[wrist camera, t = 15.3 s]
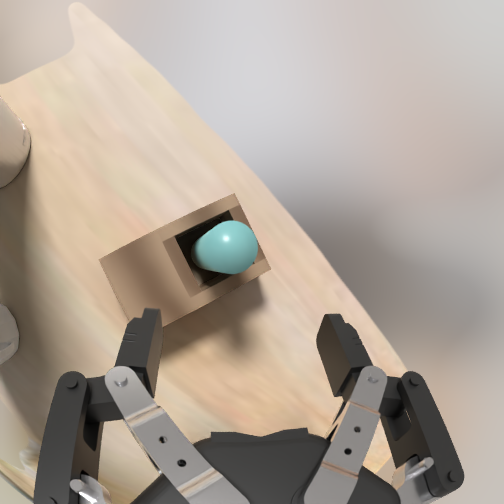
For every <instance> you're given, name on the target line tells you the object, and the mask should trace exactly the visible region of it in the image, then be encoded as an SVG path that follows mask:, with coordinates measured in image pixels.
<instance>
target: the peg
mask: <svg viewBox="0 0 504 504" xmlns="http://www.w3.org/2000/svg"><path fill="white" fill-rule="evenodd" d="M257 252H258V243H257V239H256V237H255V235H254V233H253V231H252V230H251V229H250V228H249V227H248V226H247V225H245V224H243V223H241V222H238V221H225V222H222V223H220V224H218V225H217V226H215V227H214V228H213V229H211V230H210V231H208V232H207V233H206V234H204V235H203V236H202V237H200V238H199V239H198V240H196V241H195V243H194V244H193V246H192V249H191V257H192V260H193V262H194V263H195V264H196V265H197V266H198V267H199V268H202V269H205V270H210V271H216V272H221V273H227V274H237V273H241V272H243V271H245V270H247V269H248V268H249V267H250V266H251V265H252V264H253V262H254V261H255V259H256V256H257Z"/></svg>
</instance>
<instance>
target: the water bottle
mask: <svg viewBox="0 0 504 504" xmlns="http://www.w3.org/2000/svg"><path fill="white" fill-rule="evenodd" d="M18 343H19V332H18V328H17V325H16V321H15V318H14V317H13V316H12V314H11V313H10V311H9V310H8V308H7V307H6V306H4V305H2V304H1V303H0V365H1V364H2V363H4V362H5V361H7V360H8V359H10V358H11V357H12V356H13V355H14V353H15V352H16V351H17V349H18Z"/></svg>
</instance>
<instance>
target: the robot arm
mask: <svg viewBox="0 0 504 504" xmlns="http://www.w3.org/2000/svg"><path fill="white" fill-rule="evenodd" d="M30 142H31V141H30V133H29V130H28V128H27V127H26V125H25V124H24V123H23V122H22V120H21V119H20V118H19V117H18V116H17V115H16V114H15V113H14V111H13V110H12V109H11V108H10V107H9V106H8V105H7V103H6V102H5V101H4V100H3V99H2V97H1V96H0V188H1V187H4V186H6V185H7V184H8V183H10V182H11V181H12V180H13V179H14V178H15V177H16V176H17V175H18V173H19V172H20V171H21V169H22V167H23V166H24V164H25V162H26V159H27V157H28V153H29V150H30ZM316 344H317V348H318V351H319V354H320V357H321V360H322V363H323V365H324V368H325V371H326V374H327V377H328V380H329V383H330V386H331V389H332V392H333V395H334V397H339V396H342V397H343V401H342V403H341V405H340V407H339V409H338V411H337V414H336V416H335V418H334V420H333V422H332V424H331V426H330V428H329V430H328V431H327V433H326V435H325V436H324V438H323V437H321V436H318V435H314V434H308V430H307V428H299V429H289V430H283V431H279V432H276V433H273V434H270V435H266V436H262V437H259V436H253V435H247V434H242V433H237V432H211V438H207V439H203V440H200V441H198V442H196V443H194V444H191V443H190V442H189V440H188V439H187V438H186V437H185V436H184V434H183V433H182V432H181V431H180V430H179V428H178V427H177V426H176V425H175V423H174V422H173V421H172V419H171V418H170V417H169V416H168V414H167V413H166V412H165V410H164V409H163V408H162V407H161V406H158V405H157V404H156V403H155V401H154V400H153V399H152V398H154V396H155V389H156V382H157V375H158V369H159V363H160V357H161V351H162V345H163V327H162V318H161V310H160V309H158V308H144V311H143V314H142V318H136V317H134V318H133V319H132V320H131V321H130V322H129V323H128V324H127V327H126V330H125V334H124V337H123V341H122V343H121V346H120V350H119V353H118V356H117V360H116V363H115V366H114V368H112V369H110V370H109V371H108V372H107V374H106V375H104V376H101V377H95V378H85V377H84V375H82V374H81V373H79V372H76V371H71V372H67V373H65V374H63V375H62V376H61V377H60V379H59V381H58V384H57V387H56V390H55V394H54V397H53V401H52V404H51V408H50V412H49V416H48V420H47V424H46V428H45V432H44V437H43V441H42V446H41V451H40V457H39V462H38V468H37V475H36V482H35V490H34V504H112V500H111V495H110V493H109V491H108V490H107V489H106V488H105V487H104V486H103V485H102V484H100V483H99V482H98V469H99V458H100V448H101V440H102V432H103V425H104V422H105V421H113V420H121V419H123V421H124V422H125V424H126V426H127V427H128V429H129V430H130V432H131V433H132V435H133V437H134V438H135V440H136V441H137V443H138V444H139V446H140V447H141V449H142V450H143V452H144V453H145V455H146V456H147V458H148V459H149V461H150V462H151V463H152V465H153V466H154V467H155V469H156V470H157V471H158V473H159V474H160V476H159V477H158V478H157V479H156V480H155V481H154V482H153V483H152V484H151V485H150V486H149V487H147V488H146V489H145V490H144V491H143V492H142V493H141V494H140V495H139V496H138V497H137V498H136V499H135V500H134V501H133V502H131V503H130V504H429V503H431V502H433V501H436V500H438V499H439V498H442V497H443V496H445V495H447V494H449V493H451V492H453V491H455V490H456V489H458V488H459V487H460V486H461V485H462V483H463V481H464V472H463V469H462V466H461V463H460V461H459V458H458V455H457V453H456V451H455V448H454V445H453V443H452V440H451V438H450V436H449V433H448V431H447V428H446V426H445V424H444V421H443V419H442V417H441V415H440V412H439V410H438V408H437V406H436V404H435V401H434V399H433V397H432V395H431V393H430V391H429V389H428V387H427V385H426V383H425V380H424V379H423V378H422V376H421V375H419V374H418V373H416V372H413V371H409V372H406V373H404V374H403V376H402V377H401V378H398V377H390V376H386V374H385V372H384V371H383V370H382V369H380V368H378V367H376V366H373V364H372V362H371V360H370V358H369V355H368V353H367V351H366V349H365V347H364V345H362V341H361V339H359V335H358V333H357V331H356V330H355V329H354V328H353V327H352V326H351V325H350V324H349V323H345V322H344V320H343V318H342V316H341V314H325V315H324V317H323V320H322V323H321V326H320V329H319V331H318V334H317V339H316ZM406 411H407V412H406ZM407 413H408V415H407ZM408 416H409V417H408ZM379 418H380V419H381V422H382V425H383V428H384V431H385V434H386V437H387V441H388V444H389V447H390V450H391V453H392V457H393V460H394V463H395V467H396V470H395V472H394V474H393V480H392V483H391V485H390V484H389V483H387V482H385V481H384V480H383V479H381V478H380V477H378V476H377V475H375V474H374V473H373V472H371V471H370V470H368V469H367V468H365V467H364V466H363V465H362V464H363V461H364V459H365V456H366V454H367V451H368V449H369V446H370V444H371V441H372V438H373V436H374V433H375V430H376V427H377V424H378V421H379ZM409 419H410V420H409ZM410 421H411V422H410Z"/></svg>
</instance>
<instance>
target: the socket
mask: <svg viewBox="0 0 504 504" xmlns="http://www.w3.org/2000/svg"><path fill="white" fill-rule="evenodd" d="M218 218H220V221H221V223H222V222H225V221H238V222H241V223H243V224H245V225H247V226H248V227H249V228H250V229H251V230H252V228H251V226H250V224H249V222H248V220H247V218H246V216H245V214H244V212H243V210H242V208H241V205H240V203H239V201H238V199H237V197H236V195H235V193H234V194H231V195H229V196H227V197H225V198H222V199H220V200H218V201H216V202H214V203H211V204H209V205H207V206H205V207H203V208H200V209H198V210H196V211H194V212H192V213H190V214H188V215H186V216H183V217H181V218H179V219H177V220H175V221H173V222H171V223H169V224H167V225H165V226H163V227H161V228H159V229H157V230H155V231H153V232H151V233H149V234H147V235H145V236H143V237H141V238H139V239H137V240H135V241H133V242H131V243H129V244H127V245H125V246H123V247H121V248H119V249H118V250H116V251H114V252H112V253H110V254H108V255H106V256H104V257H103V258H101V259H99V261H100V263H101V266H102V268H103V270H104V272H105V274H106V276H107V278H108V280H109V283H110V285H111V287H112V289H113V291H114V293H115V295H116V297H117V299H118V300H119V302H120V304H121V306H122V308H123V310H124V312H125V314H126V316H127V317H128V319H129V321H131V320H132V319H133V318H134V317H136V318H142V314H143V311H144V308H158V309H160V310H161V318H162V327H164V326H166V325H168V324H170V323H172V322H174V321H176V320H177V319H179V318H181V317H183V316H185V315H187V314H189V313H191V312H193V311H195V310H196V309H198V308H200V307H202V306H204V305H206V304H208V303H210V302H212V301H213V300H215V299H217V298H219V297H221V296H223V295H225V294H227V293H228V292H230V291H232V290H234V289H236V288H238V287H240V286H241V285H243V284H245V283H247V282H249V281H251V280H252V279H254V278H256V277H258V276H260V275H262V274H263V273H265V272H267V271H269V270H271V268H270V266H269V264H268V261H267V259H266V257H265V255H264V253H263V251H262V249H261V247H260V245H259V243H258V241H257V243H258V252H257V256H256V259H255V261H254V262H253V264H252V265H251V266H250V267H249V268H248V269H247V270H245V271H243V272H241V273H237V274H227V273H223V274H221V275H219V276H217V277H215V278H213V279H211V280H209V281H207V282H205V283H204V284H202V285H200V286H199V285H198V283H197V281H196V279H195V277H194V275H193V273H192V271H191V269H190V267H189V265H188V263H187V261H186V259H185V257H184V255H183V253H182V251H181V249H180V247H179V245H178V243H177V241H176V238H178V237H180V236H182V235H184V234H186V233H188V232H191V231H193V230H195V229H197V228H199V227H201V226H203V225H205V224H207V223H209V222H211V221H213V220H216V219H218ZM252 231H253V230H252ZM253 233H254V232H253ZM254 235H255V234H254Z"/></svg>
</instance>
